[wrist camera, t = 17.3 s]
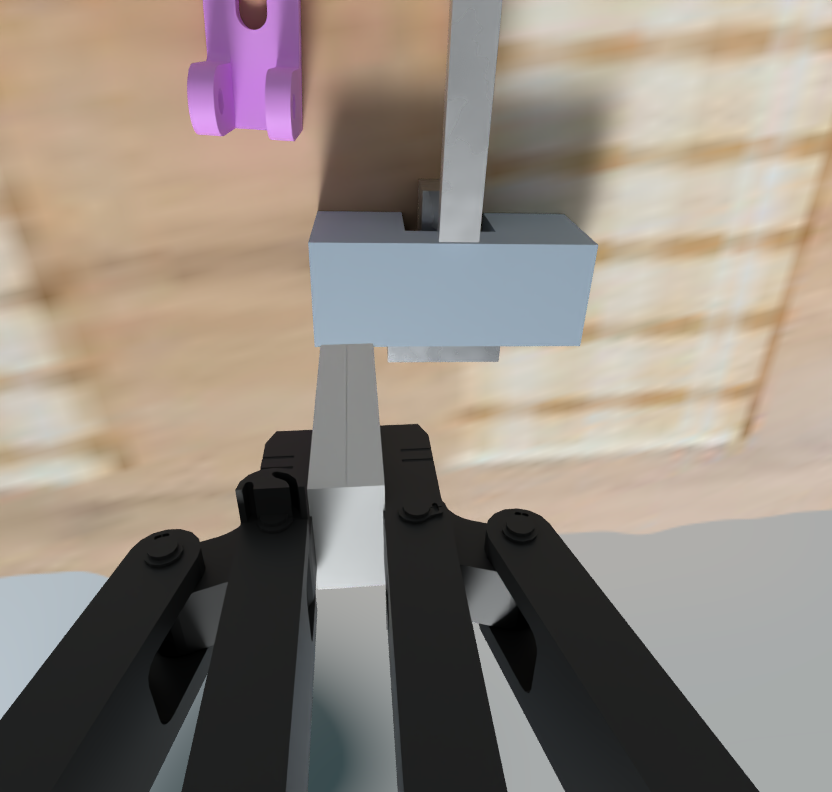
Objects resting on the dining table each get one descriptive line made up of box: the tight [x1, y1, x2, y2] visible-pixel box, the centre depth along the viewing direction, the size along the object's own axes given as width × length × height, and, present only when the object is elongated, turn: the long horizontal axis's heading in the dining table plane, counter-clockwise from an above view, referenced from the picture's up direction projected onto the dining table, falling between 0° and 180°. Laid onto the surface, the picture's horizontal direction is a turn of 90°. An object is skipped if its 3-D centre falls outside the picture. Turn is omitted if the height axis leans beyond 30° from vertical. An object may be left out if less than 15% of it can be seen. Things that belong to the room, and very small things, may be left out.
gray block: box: [387, 179, 500, 362], centre depth 45 cm, size 8×12×4 cm
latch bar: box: [437, 0, 502, 242], centre depth 33 cm, size 2×15×2 cm, turn 178°
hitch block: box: [308, 211, 598, 347], centre depth 43 cm, size 18×7×8 cm, turn 88°
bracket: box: [187, 0, 303, 141], centre depth 35 cm, size 13×6×7 cm, turn 176°
